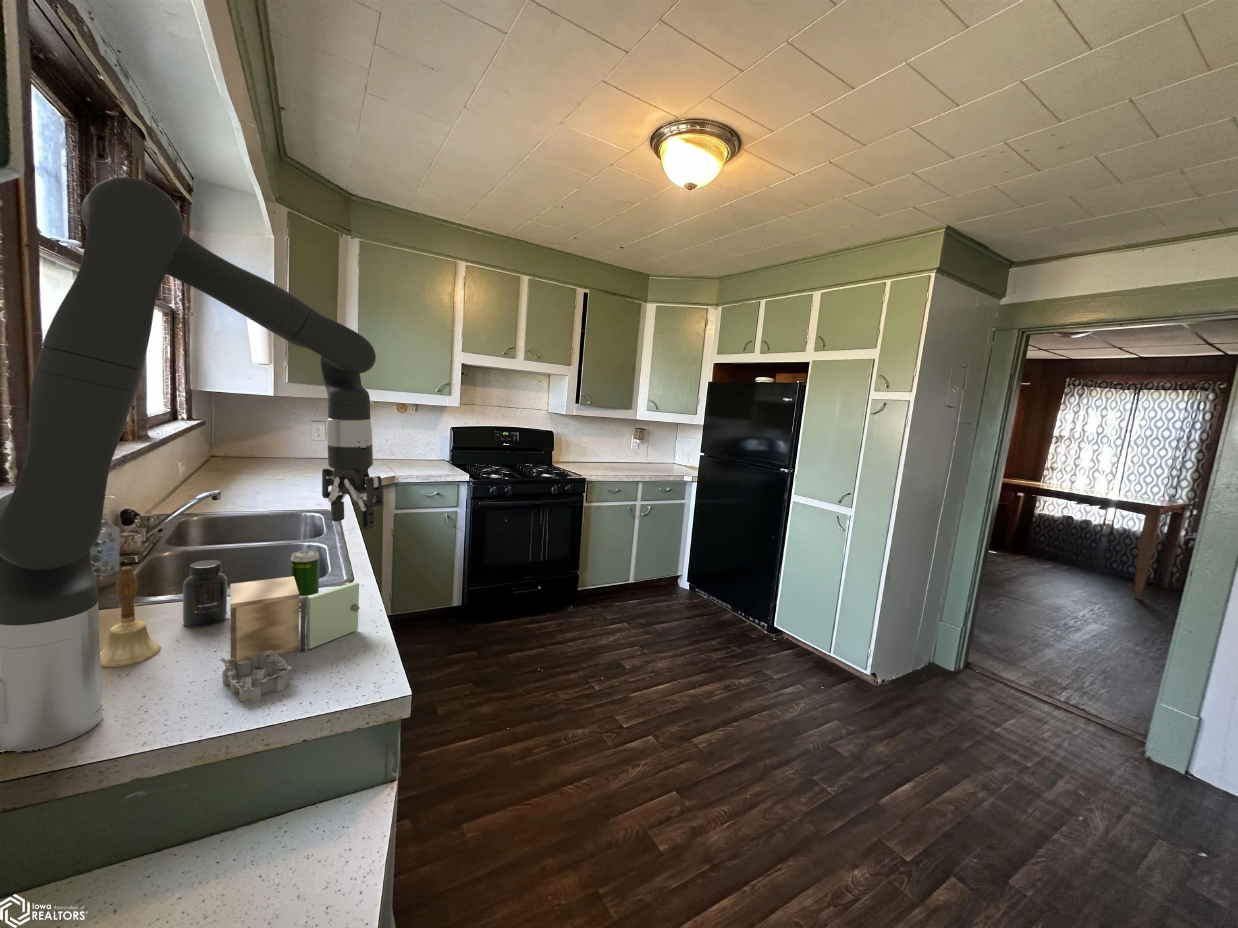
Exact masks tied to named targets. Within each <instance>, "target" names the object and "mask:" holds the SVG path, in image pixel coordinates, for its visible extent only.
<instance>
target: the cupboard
mask: <svg viewBox="0 0 1238 928" xmlns="http://www.w3.org/2000/svg"><path fill="white" fill-rule="evenodd" d="M229 586H230V589H229V590H230V592H229V593H230V599H229V602H230V604H229V605H230V610H229V611H230V619H229V620H230V659H232V658H235V659H236V661H237V663H239V662H242V661H245V658H246V657H247V656H250V657H251V656H255V655H257V653H264V652H266V651H269V650H274V651H275V652H276V653H277V654H278V655H281V654H285V653H290V652H291V653H292V652H296V651H299V650H300V652H305V651H306V597H305V596H303V597H301V610H299V591H298V588H297V585H296V581H295V578H294V576H292V577H290V576H286V577H277V578H268V579H262V580H261V579H260V580H252V581H245V582H236V583H230V585H229ZM299 625H300V626H299ZM299 633H300V635H299ZM299 640H300V641H299Z"/></svg>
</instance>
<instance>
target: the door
mask: <svg viewBox="0 0 1238 928" xmlns="http://www.w3.org/2000/svg"><path fill="white" fill-rule="evenodd" d="M359 598H360V583H359V582H358V581H353V582H350V583H347V584H343V585H340V586H337V587H334V588H330V589H327V590H324V591H323V590H322V591H319V593H316V594H313V595H310V596H307V601H306V635H305V648H307V649H313V648H315V647H318V646H321V645H323V644H326V643H328V642H330V641H333V640H335V639H338V638H340V637H344V636H345V635H348V634H351V633H353V632H357V631H358V630H359V611H360V605H359V601H360V599H359Z"/></svg>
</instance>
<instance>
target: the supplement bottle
mask: <svg viewBox="0 0 1238 928" xmlns="http://www.w3.org/2000/svg"><path fill="white" fill-rule="evenodd" d="M189 575H190V576H189V577H187V578H186V579H185V580H184V582H183V584H182V585H183V586H182V622H183V625H185V626H186V627H190V628H191V627H192V628H202V627H209V626H213V625H217V624H219V623H221V622H223V621H224V620H225V619H226V617H227V613H228V612H227V611H228V610H227V609H228V608H227V606H228V577H227V576H226V575H225V574H224V573H222V561H220V560H217V559H207V560H206V559H205V560H200V561H196V562H192V563H191V564H190V565H189Z"/></svg>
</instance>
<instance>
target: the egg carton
mask: <svg viewBox="0 0 1238 928" xmlns="http://www.w3.org/2000/svg"><path fill="white" fill-rule="evenodd" d="M279 655H280V654H277V653H276V652H275V651H274V650H269V651H266V652H264V653H257V655H255V656H251V657H250V656H247V657H246V658H245V661H242V662H237V661H236V659H235V658H232V659H231V658H229V659H227V660H226V659H225V658H224V657H221V659H220V662H222V663H223V665H224V667H225V669H223V671H222V674H221V679H222V683H223V684H224V685H229V686H230V688H229V689H230V691H231V692H232V693H238V695H239V697H238V699H239V701H240V702H244V701H252V702H255V701H257V700H260V699H261V698H262V695H264V694H265V693H268V692H277V693H278V692H280V691H283V690H285V689H286V688H285V687H286V686H287V685H289V684H290V670H291V669H292V668H293V667H292V666H290V665H288V663H287V662H286V660H285V659H283V657H281V656H279ZM256 668H261V669H256ZM250 672H251V673H250ZM247 674H251V675H249V676H246V677H245V678H244V677H243V678H241V679H240V680H239V679H237V676H244V675H247ZM271 675H273V676H271ZM249 683H251V686H249V685H248V686H246V684H249Z"/></svg>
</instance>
